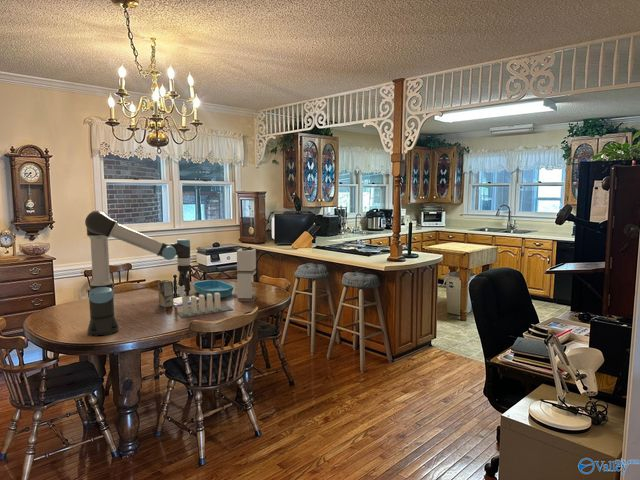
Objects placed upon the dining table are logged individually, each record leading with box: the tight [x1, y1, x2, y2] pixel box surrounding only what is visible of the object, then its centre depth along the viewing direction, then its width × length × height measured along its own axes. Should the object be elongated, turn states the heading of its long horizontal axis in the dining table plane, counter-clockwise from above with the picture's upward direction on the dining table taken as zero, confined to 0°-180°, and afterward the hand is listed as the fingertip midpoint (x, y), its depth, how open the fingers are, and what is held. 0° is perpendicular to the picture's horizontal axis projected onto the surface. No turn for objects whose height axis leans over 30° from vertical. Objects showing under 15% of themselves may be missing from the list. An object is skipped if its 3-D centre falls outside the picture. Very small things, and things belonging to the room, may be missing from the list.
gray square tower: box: [236, 247, 257, 302], centre depth 295 cm, size 11×11×35 cm
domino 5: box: [214, 292, 222, 310], centre depth 270 cm, size 2×5×10 cm, turn 31°
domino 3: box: [198, 294, 206, 312], centre depth 265 cm, size 2×5×10 cm, turn 31°
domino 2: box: [190, 295, 198, 314], centre depth 262 cm, size 2×5×10 cm, turn 31°
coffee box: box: [157, 279, 175, 308], centre depth 280 cm, size 9×6×16 cm
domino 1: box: [181, 296, 189, 315], centre depth 260 cm, size 2×5×10 cm, turn 31°
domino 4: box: [206, 294, 214, 311], centre depth 267 cm, size 2×5×10 cm, turn 31°
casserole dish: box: [192, 279, 235, 300], centre depth 311 cm, size 37×22×7 cm, turn 39°
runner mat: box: [176, 304, 234, 319], centre depth 267 cm, size 32×12×1 cm, turn 121°
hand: (184, 298), depth 259 cm, fingers open, 13 cm apart
